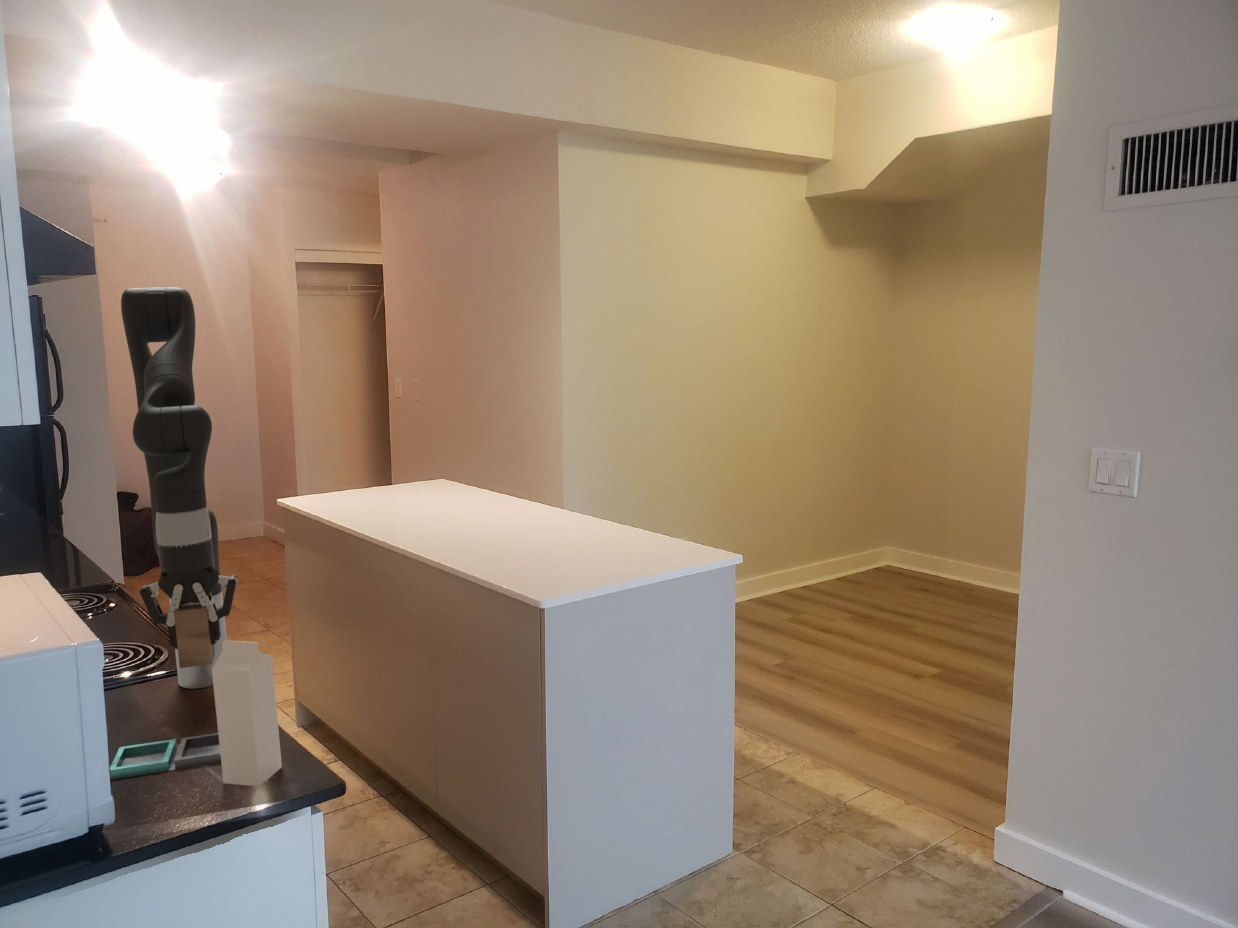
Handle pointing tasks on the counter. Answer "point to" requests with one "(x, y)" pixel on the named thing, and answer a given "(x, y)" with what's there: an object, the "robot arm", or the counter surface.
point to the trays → (166, 756)
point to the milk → (246, 714)
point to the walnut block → (193, 635)
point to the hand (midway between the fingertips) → (195, 644)
